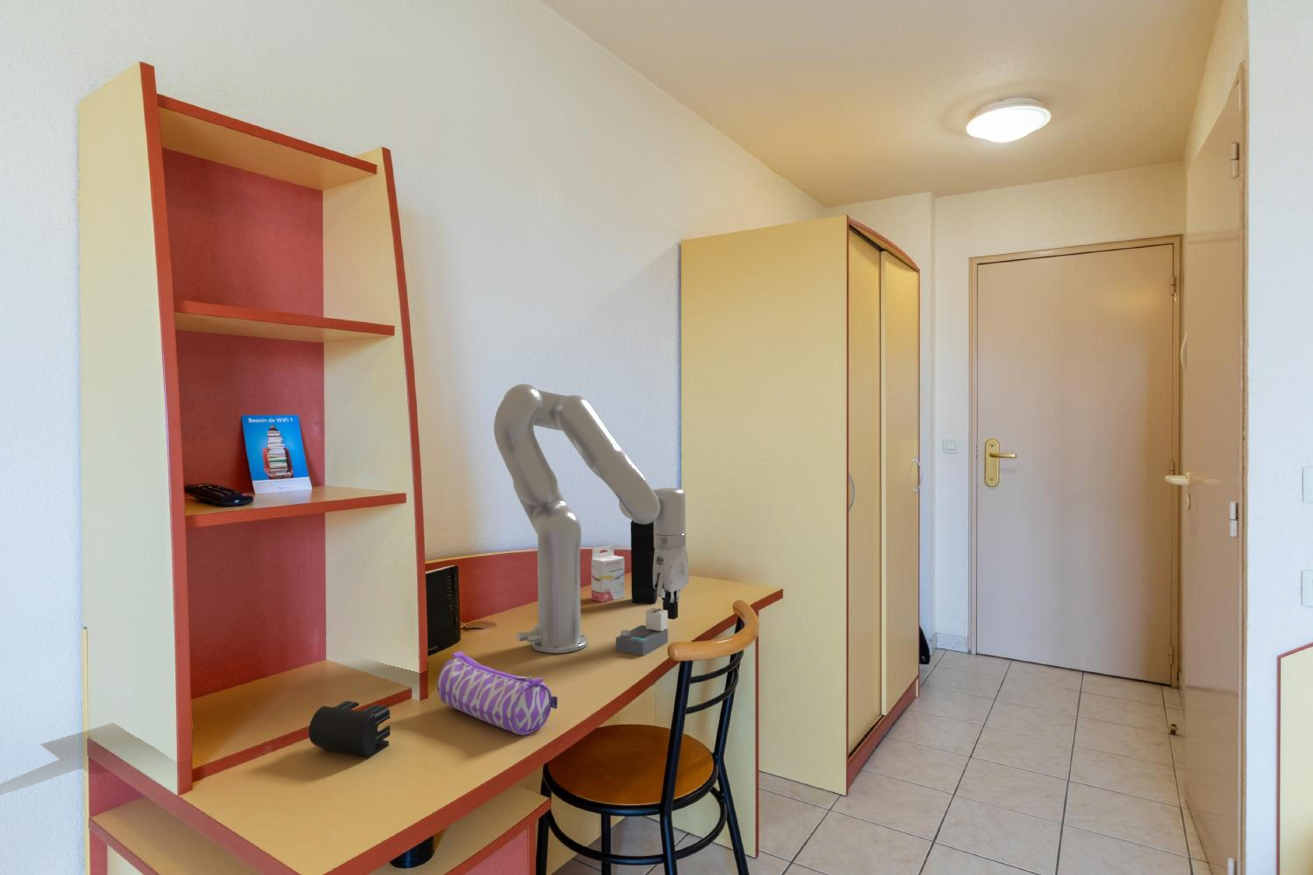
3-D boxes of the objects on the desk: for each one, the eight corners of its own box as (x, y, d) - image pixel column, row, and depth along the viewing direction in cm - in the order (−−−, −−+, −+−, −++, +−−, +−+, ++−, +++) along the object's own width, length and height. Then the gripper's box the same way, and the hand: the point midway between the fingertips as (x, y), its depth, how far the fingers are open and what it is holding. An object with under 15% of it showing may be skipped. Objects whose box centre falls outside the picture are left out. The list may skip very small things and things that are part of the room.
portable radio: (661, 598, 206) (660, 511, 205) (659, 604, 200) (658, 513, 199) (633, 598, 206) (632, 510, 206) (630, 603, 200) (629, 513, 200)
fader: (661, 631, 163) (660, 612, 163) (645, 628, 165) (645, 610, 165) (667, 627, 166) (667, 609, 166) (652, 625, 168) (652, 607, 168)
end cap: (308, 756, 111) (307, 713, 111) (341, 737, 118) (340, 696, 118) (361, 765, 108) (360, 721, 108) (392, 745, 115) (392, 703, 115)
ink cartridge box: (602, 603, 201) (601, 550, 201) (591, 599, 205) (590, 548, 205) (625, 597, 207) (624, 546, 207) (614, 594, 211) (613, 544, 211)
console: (643, 655, 156) (643, 637, 156) (616, 650, 160) (615, 633, 160) (667, 641, 166) (667, 624, 166) (641, 637, 169) (641, 620, 169)
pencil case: (559, 725, 122) (558, 669, 122) (519, 745, 114) (518, 686, 114) (471, 696, 135) (470, 646, 134) (430, 713, 127) (429, 660, 127)
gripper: (668, 547, 162) (669, 628, 163) (698, 537, 175) (698, 612, 176) (639, 544, 166) (640, 623, 166) (670, 534, 179) (671, 608, 179)
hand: (670, 617), depth 171 cm, fingers closed
